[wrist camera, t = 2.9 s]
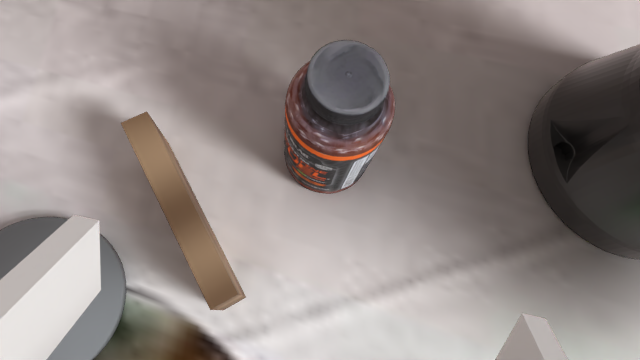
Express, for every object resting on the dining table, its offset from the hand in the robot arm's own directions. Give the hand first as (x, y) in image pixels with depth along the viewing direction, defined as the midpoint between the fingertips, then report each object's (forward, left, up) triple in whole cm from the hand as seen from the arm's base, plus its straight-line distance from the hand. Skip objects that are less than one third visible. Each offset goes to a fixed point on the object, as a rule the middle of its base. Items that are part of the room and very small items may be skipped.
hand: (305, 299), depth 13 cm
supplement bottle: (-9, -5, -15) cm, 19 cm away
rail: (0, -9, -15) cm, 17 cm away
